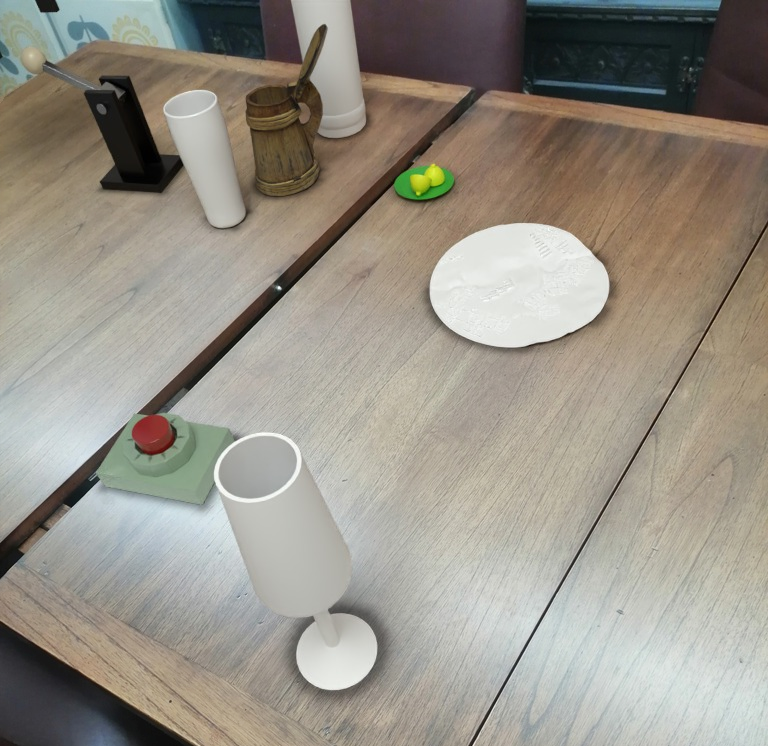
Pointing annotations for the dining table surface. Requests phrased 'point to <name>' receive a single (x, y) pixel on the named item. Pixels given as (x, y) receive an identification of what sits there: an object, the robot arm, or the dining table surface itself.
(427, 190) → the lemon
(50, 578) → the dining table surface
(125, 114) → the lever bracket
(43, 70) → the lever
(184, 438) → the control block
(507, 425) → the dining table surface
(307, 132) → the wooden mug
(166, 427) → the button
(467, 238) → the plaque
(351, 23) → the bottle
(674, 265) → the dining table surface
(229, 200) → the drinking glass
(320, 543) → the champagne flute
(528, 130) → the dining table surface
